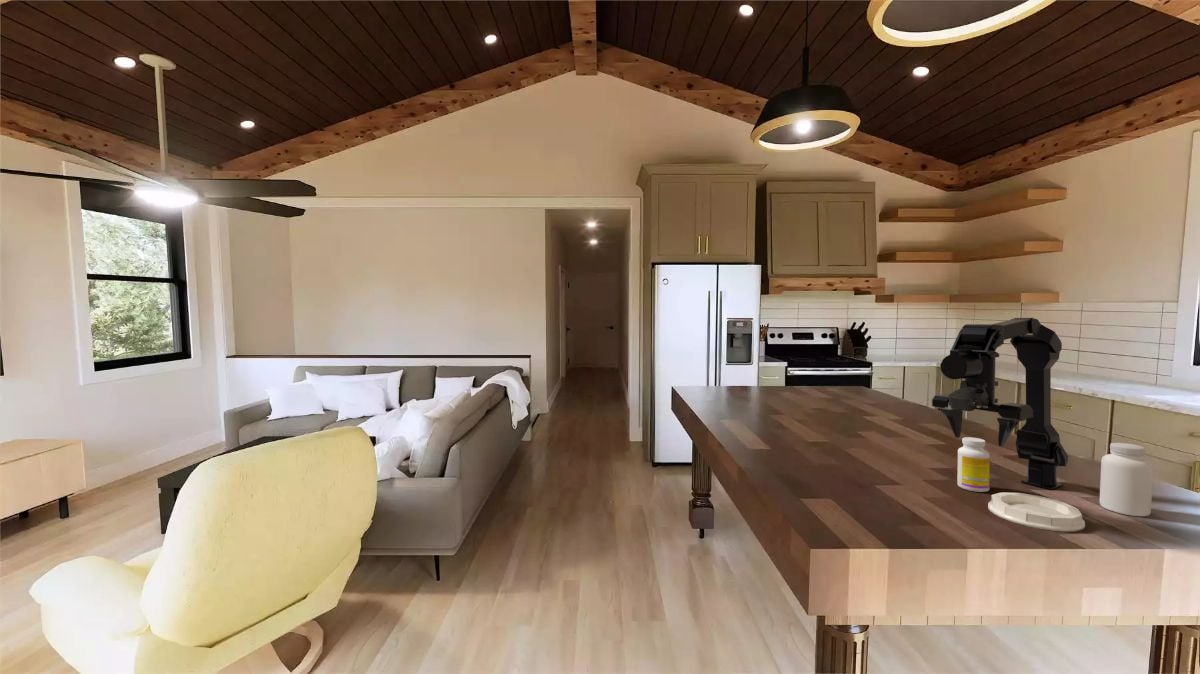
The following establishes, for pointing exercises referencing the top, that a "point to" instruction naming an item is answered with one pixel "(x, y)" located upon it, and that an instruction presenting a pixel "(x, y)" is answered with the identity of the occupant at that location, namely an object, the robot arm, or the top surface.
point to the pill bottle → (1126, 480)
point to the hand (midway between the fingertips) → (978, 441)
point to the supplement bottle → (973, 465)
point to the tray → (1036, 512)
